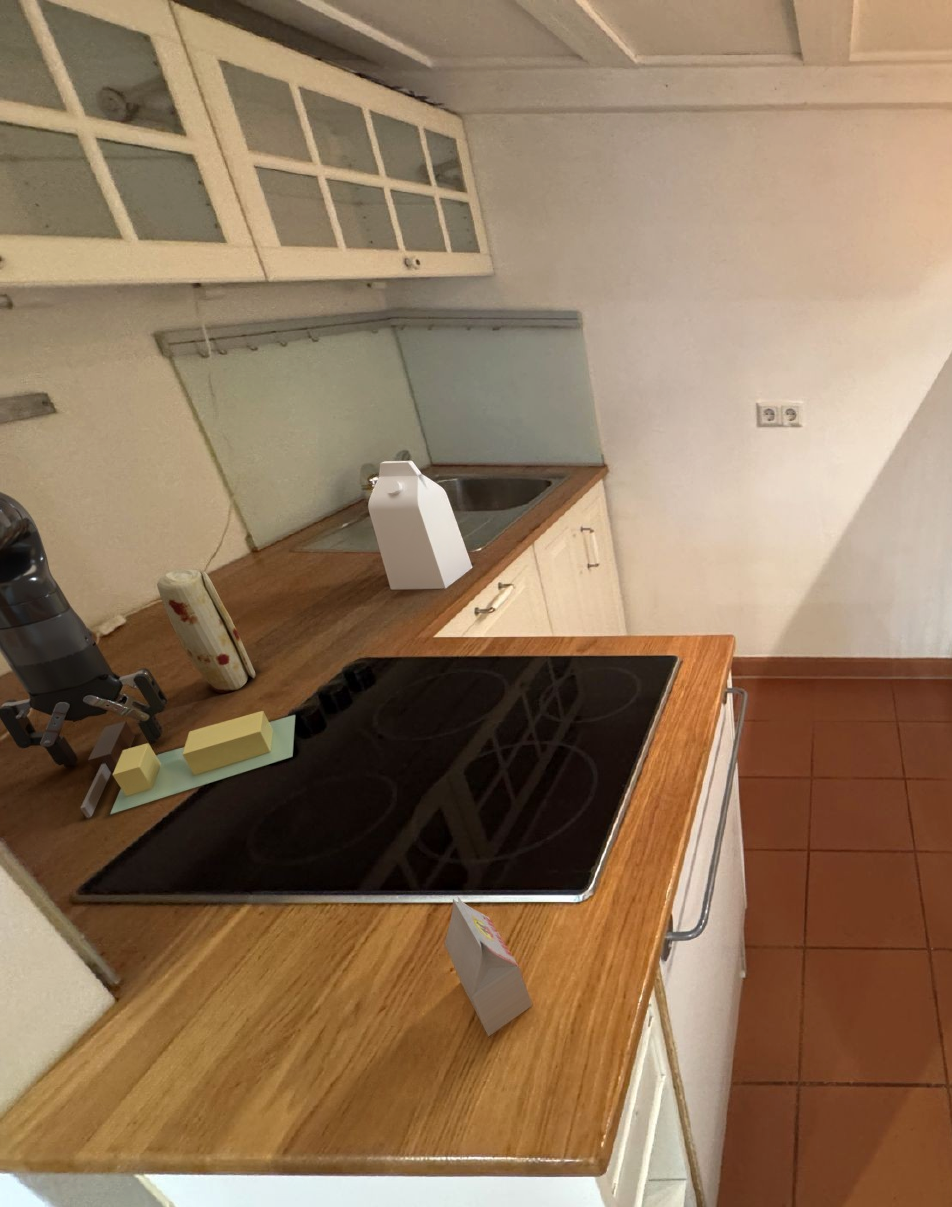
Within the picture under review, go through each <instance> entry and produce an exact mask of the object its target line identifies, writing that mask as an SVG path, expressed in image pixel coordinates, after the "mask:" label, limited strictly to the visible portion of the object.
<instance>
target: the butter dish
mask: <svg viewBox="0 0 952 1207" xmlns="http://www.w3.org/2000/svg"><path fill="white" fill-rule="evenodd" d="M269 723H270V726H271V728H272V730H273V734H272V742H271V751H270V752H269V753H265V754H262V755H259V756H256V757H252V758H249V759H246V760H243V761H239V762H236V763H233V764H230V765H227V766H223V767H220V768H217V769H214V770H210V771H207V772H204V773H201V774H197V775H194V774H193V772H192V771H191V769H190V767H189V765H188V764H187V762H186V760H185V758H184V757H183V755H182V753H183V750H184V747H185V746H183V747H179V748H176V749H172V750H168V751H166V752H163V753H159V754H155V755H156V757H157V758H158V760H159V762H160V763H161V764H160V767H159V770H158V773H157V776H156V779H155V782H154V785H153V788H152V789H148V790H145V791H142V792H139V793H136V794H132V795H129V796H126V795H125V794H124V792H123V790H122V789H121V788H120V789H119V792H118V794H117V797H116V799H115V802H114V804H113V806H112V808H111V811H110V813H109V815H113V814H117V813H120V812H123V811H125V810H129V809H132V808H135V807H139V806H141V805H144V804H148V803H150V802H153V801H157V800H161V799H163V798H167V797H169V796H172V795H173V796H174V795H176V794H179V793H183V792H185V791H188V790H192V789H195V788H198V787H201V786H204V785H205V786H206V785H208V784H210V783H214V782H217V781H220V780H224V779H226V778H227V779H228V778H231V777H233V776H236V775H240V774H243V773H246V772H248V771H249V772H250V771H252V770H255V769H259V768H262V767H264V766H267V765H270V764H274V763H277V762H281V761H283V760H286V759H290V758H293V755H294V740H295V729H296V728H295V727H296V726H295V725H296V714H292V715H289V716H286V717H282V718H279V719H276V720H272V721H269Z"/></svg>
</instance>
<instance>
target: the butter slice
mask: <svg viewBox="0 0 952 1207" xmlns="http://www.w3.org/2000/svg"><path fill="white" fill-rule="evenodd" d="M156 755H157V754H156V753H155V752H154V749H152V746H151V744H150V743H149V742H147V743H143V744H140V745H136V746H133V747H132V746H131V747H130V748H129V749H125V750H123V751H122V754H121V756H120V758H119V761H118V763H117V765H116V768H115V770H114V772H112V777H113V778H114V780H115V781H116V783H117V784H118V786H119V787H120V789H122V790H123V792H124V794H125V795H126V796H129V795H132V794H136V793H139V792H142V791H145V790H148V789H152V788H153V785H154V782H155V779H156V776H157V773H158V770H159V767H160V764H161V763H160V762H159V760H158V758H157V757H156Z"/></svg>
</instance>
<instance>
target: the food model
mask: <svg viewBox="0 0 952 1207" xmlns="http://www.w3.org/2000/svg"><path fill="white" fill-rule="evenodd" d="M156 587H157V590H158V593H159V596H160V599H161V601H162V604H163V606H164V609H165V611H166V614H167V615H166V616H167V618H168V620H169V622H170V624H171V626H172V628H173V630H174V632H175V634H176V636H177V639H178V640H179V643H180V645H181V647H182V649H183V650H184V652H185V653H186V655H187V657H188V658H189V659H190V661H191V663H192V664H193V666H194V668H196V670H197V671H198V672H199V673H200V674H201V676H202V677H203V678H204V679H205V681H206V682H207V684H208V685H209V686H210V688H211V689H212V690H213V691H215V692H216V693H219V694H227V693H230V692H233V691H237V690H239V689H241V688H242V687H243V686H245V684H246V683H247V681H248V679H249V676H250V678H252V679H255V677H256V672H255V669H254V667H253V664H252V662H251V660H250V657H249V655H248V653H247V650H246V648H245V646H244V644H243V641H242V639H241V636H240V634H239V632H238V630H237V627H236V625H235V623H234V622H233V619H232V617H231V615H230V613H229V611H228V610H227V608H226V606H225V605H224V603H223V601H222V599H221V598H220V595H219V594H218V591H217V590H216V588H215V586H214V584H213V582H212V580H211V578H210V576H209V574H208V573H207V572H206V571H205V570H203V569H200V568H199V569H197V568H194V569H177V570H173V571H168V572H166V573H165V574H164V575H162V576H161V577H160V578H159V579H158V581H157V583H156Z"/></svg>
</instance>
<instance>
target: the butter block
mask: <svg viewBox="0 0 952 1207" xmlns="http://www.w3.org/2000/svg"><path fill="white" fill-rule="evenodd" d="M269 722H270V721H269V719H268V717H267V715H266V714H265V711H264V710H260V711H257V712H253V713H250V714H247V715H242V716H240V717H239V716H238V717H236V718H235V717H234V718H232V719H229V720H225V721H221V722H217V723H214V724H210V725H207V726H203V727H200V728H196V729H193V730H190V731H188V734H187V737H186V740H185V744H184V746H183V747H184V750H183V753H182V755H183V757H184V758H185V760H186V762H187V764H188V765H189V767H190V769H191V771H192V772H193V774H194V775H197V774H201V773H204V772H207V771H210V770H214V769H217V768H220V767H223V766H227V765H230V764H233V763H236V762H239V761H243V760H246V759H249V758H252V757H256V756H259V755H262V754H265V753H269V752H270V751H271V742H272V734H273V730H272V728H271V726H270V723H269Z"/></svg>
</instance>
